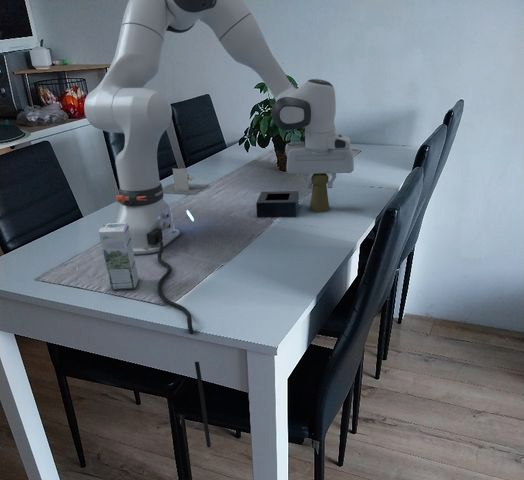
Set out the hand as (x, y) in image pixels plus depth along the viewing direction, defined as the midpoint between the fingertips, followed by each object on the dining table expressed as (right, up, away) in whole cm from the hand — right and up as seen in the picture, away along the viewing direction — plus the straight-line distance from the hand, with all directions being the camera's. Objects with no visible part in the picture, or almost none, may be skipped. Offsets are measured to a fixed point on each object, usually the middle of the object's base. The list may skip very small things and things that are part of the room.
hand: (319, 187), depth 167 cm
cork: (0, -6, +4) cm, 7 cm away
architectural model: (-47, +9, +32) cm, 57 cm away
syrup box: (-50, -35, -38) cm, 72 cm away
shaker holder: (-13, -6, +4) cm, 15 cm away
